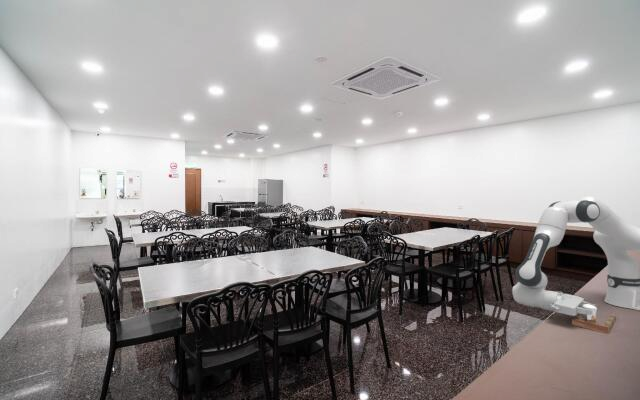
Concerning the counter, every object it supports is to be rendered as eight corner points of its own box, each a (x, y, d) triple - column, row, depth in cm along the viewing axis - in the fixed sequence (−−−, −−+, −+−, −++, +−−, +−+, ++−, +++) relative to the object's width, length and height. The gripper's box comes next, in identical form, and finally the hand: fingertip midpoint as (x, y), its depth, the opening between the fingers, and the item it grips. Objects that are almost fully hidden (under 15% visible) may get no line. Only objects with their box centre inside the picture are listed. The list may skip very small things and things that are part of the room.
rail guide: (582, 311, 144) (582, 306, 144) (615, 318, 135) (615, 313, 135) (571, 324, 128) (571, 319, 128) (608, 333, 120) (608, 327, 120)
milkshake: (602, 329, 124) (602, 304, 124) (587, 328, 125) (586, 304, 125) (594, 324, 128) (594, 301, 128) (579, 323, 129) (579, 300, 129)
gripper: (547, 299, 131) (589, 307, 120) (559, 290, 144) (598, 297, 133) (547, 313, 130) (589, 323, 120) (559, 303, 144) (598, 311, 133)
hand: (594, 309), depth 127 cm, fingers open, 8 cm apart
